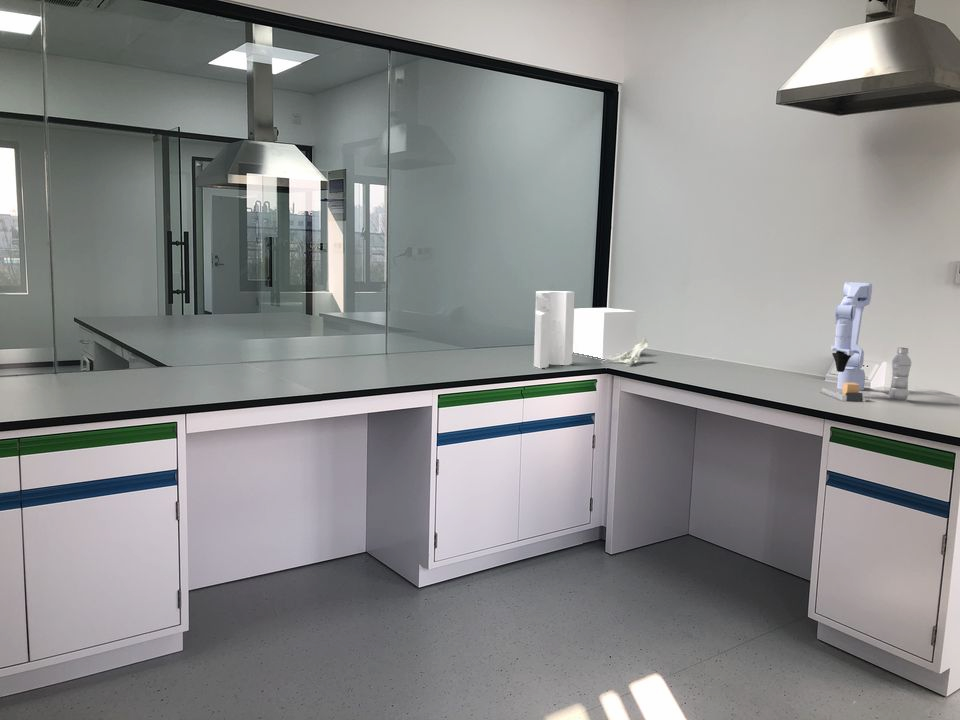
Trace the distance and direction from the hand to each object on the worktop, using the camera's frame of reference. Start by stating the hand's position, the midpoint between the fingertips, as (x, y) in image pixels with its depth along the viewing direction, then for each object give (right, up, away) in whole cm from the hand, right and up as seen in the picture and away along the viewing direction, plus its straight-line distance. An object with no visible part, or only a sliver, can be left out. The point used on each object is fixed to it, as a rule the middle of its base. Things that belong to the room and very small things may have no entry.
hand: (840, 371), depth 293 cm
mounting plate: (-1, -10, -3) cm, 11 cm away
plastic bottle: (+20, -11, -3) cm, 23 cm away
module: (0, -10, -8) cm, 13 cm away
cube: (-73, +6, +109) cm, 132 cm away
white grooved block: (-106, +1, +68) cm, 126 cm away
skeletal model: (-65, +2, +80) cm, 103 cm away
